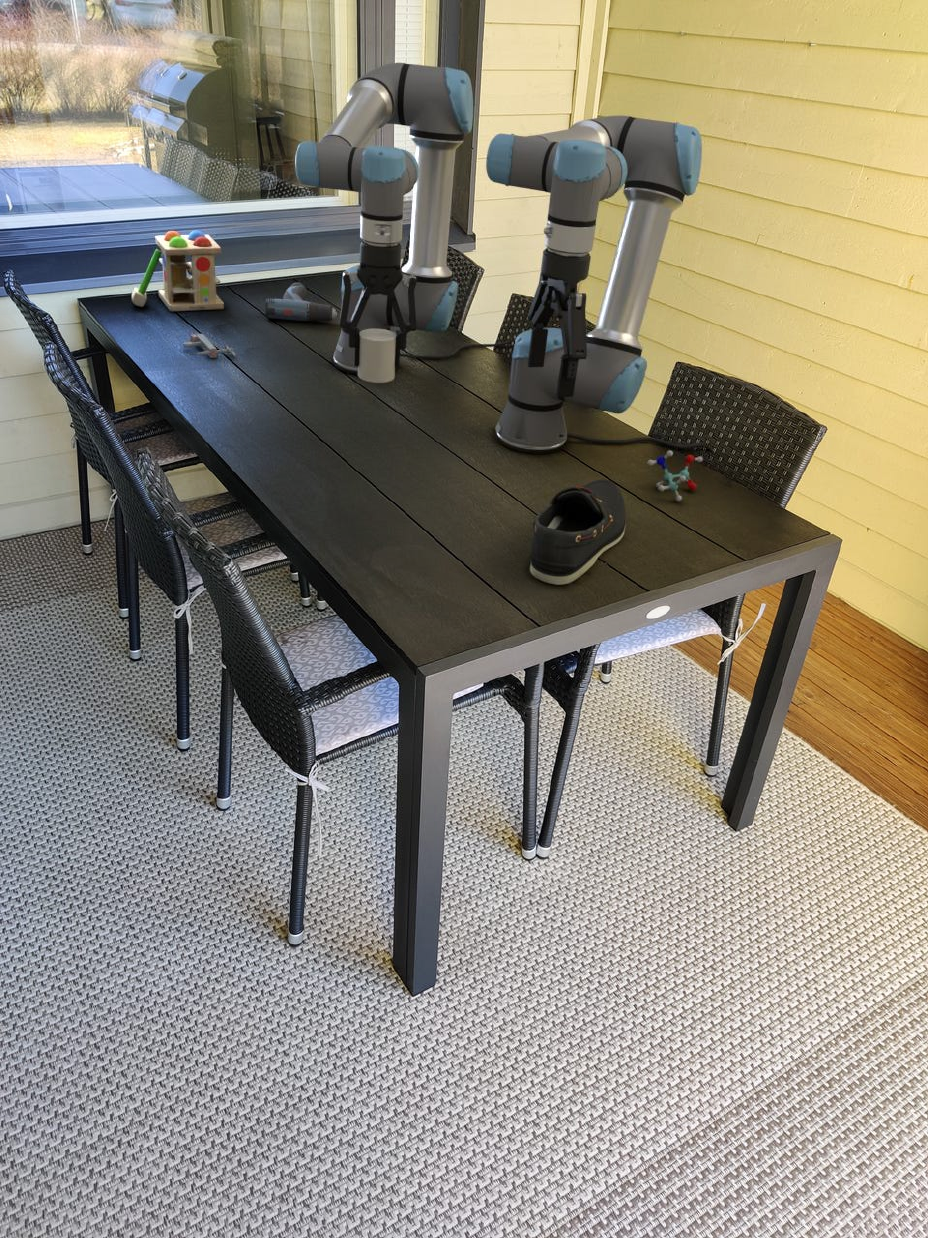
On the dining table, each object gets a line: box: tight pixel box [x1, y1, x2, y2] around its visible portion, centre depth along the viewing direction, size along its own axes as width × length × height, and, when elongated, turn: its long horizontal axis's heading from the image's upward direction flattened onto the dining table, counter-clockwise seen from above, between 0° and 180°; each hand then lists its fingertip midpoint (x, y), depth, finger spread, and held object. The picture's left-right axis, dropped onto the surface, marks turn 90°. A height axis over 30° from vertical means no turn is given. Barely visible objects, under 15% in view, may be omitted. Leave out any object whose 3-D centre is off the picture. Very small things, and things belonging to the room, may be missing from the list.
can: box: [357, 329, 396, 384], centre depth 189 cm, size 7×7×8 cm
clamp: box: [182, 333, 239, 359], centre depth 235 cm, size 15×2×10 cm
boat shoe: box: [529, 479, 627, 586], centre depth 172 cm, size 13×33×10 cm, turn 147°
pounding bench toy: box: [131, 230, 225, 312], centre depth 259 cm, size 23×14×18 cm, turn 116°
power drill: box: [264, 282, 338, 322], centre depth 265 cm, size 5×19×20 cm
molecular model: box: [646, 450, 704, 503], centre depth 192 cm, size 12×10×10 cm
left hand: (376, 364), depth 190 cm, fingers closed on can, 7 cm apart
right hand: (549, 381), depth 165 cm, fingers open, 13 cm apart
